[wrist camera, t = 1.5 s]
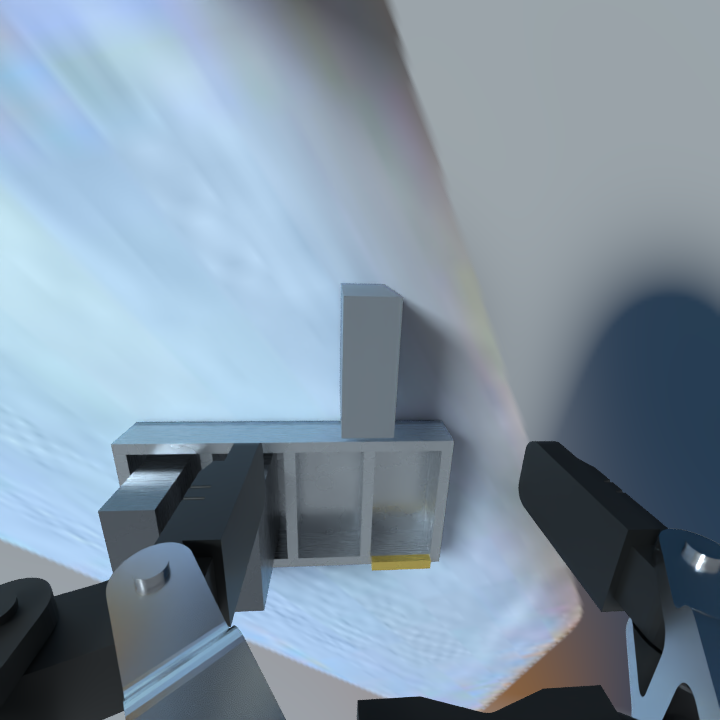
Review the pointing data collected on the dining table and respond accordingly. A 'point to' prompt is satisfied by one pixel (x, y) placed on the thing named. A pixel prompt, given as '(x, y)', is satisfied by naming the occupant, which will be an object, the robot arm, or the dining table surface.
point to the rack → (293, 493)
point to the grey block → (369, 359)
